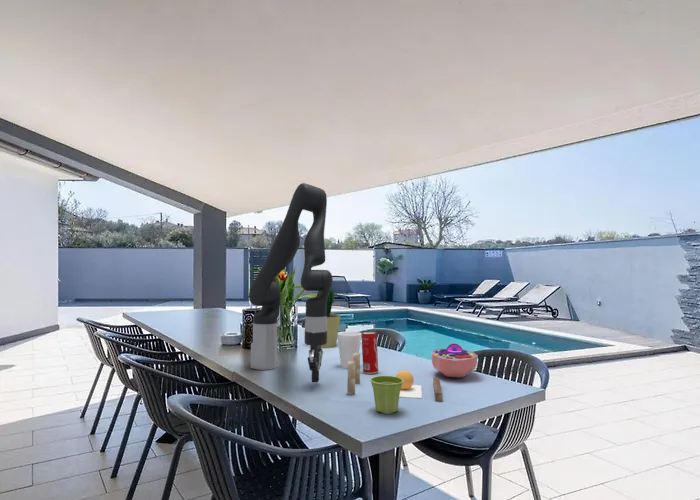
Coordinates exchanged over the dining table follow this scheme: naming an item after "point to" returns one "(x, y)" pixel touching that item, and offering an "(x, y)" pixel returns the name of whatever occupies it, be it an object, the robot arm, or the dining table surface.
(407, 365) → the dining table surface
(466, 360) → the cell model
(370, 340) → the beverage can
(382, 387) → the plant pot
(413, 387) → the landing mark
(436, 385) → the wall
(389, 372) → the dining table surface
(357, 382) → the post
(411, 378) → the ball
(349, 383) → the post
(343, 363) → the foam cup
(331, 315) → the potted cactus
